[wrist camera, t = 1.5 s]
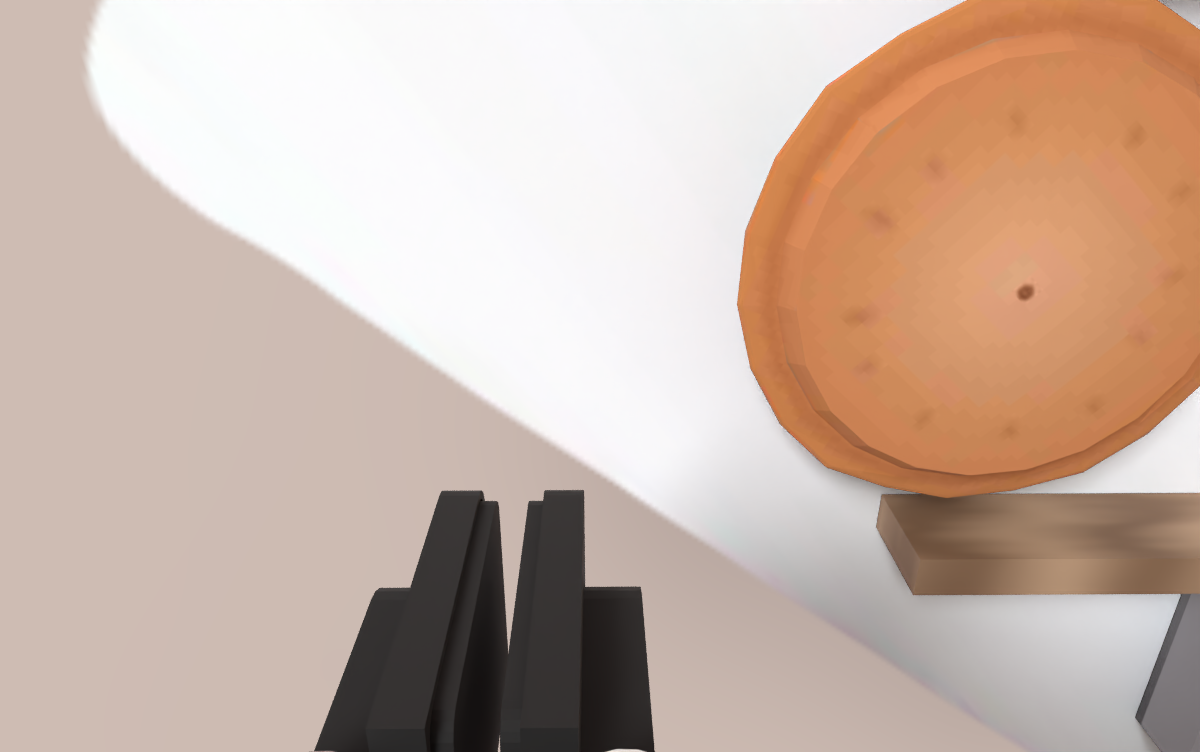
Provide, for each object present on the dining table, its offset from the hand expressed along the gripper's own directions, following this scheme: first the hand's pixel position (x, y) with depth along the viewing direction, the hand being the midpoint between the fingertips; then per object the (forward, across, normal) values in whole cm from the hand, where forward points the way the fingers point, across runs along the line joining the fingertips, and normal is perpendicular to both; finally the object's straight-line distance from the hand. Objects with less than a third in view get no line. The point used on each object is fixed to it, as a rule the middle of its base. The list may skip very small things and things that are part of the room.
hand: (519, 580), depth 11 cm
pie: (+18, -13, 0) cm, 22 cm away
